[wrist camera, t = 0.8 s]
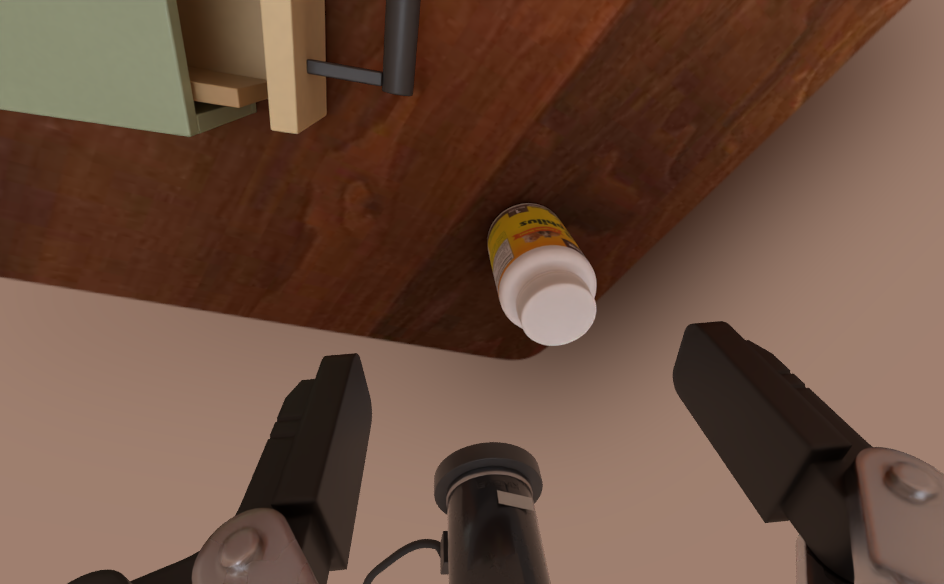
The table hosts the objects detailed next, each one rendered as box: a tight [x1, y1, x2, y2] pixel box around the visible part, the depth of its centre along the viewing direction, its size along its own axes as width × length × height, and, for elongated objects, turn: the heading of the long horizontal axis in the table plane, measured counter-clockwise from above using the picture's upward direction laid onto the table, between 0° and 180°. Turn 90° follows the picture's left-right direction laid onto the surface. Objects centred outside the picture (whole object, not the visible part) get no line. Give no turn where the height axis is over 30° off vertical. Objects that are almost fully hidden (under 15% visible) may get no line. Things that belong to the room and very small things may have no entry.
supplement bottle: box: [487, 203, 596, 346], centre depth 25 cm, size 6×6×10 cm
